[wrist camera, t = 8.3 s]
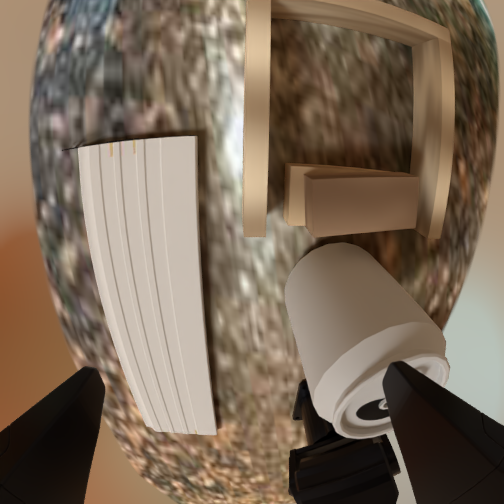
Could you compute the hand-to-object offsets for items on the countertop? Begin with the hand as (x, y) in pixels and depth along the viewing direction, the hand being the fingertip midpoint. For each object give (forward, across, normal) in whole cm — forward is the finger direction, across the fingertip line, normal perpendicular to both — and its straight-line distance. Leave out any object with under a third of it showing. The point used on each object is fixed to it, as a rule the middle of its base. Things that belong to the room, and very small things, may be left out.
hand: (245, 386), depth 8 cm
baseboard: (+14, +8, +8) cm, 18 cm away
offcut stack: (+13, -7, -3) cm, 15 cm away
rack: (+13, -7, -8) cm, 17 cm away
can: (+13, -7, +4) cm, 15 cm away
